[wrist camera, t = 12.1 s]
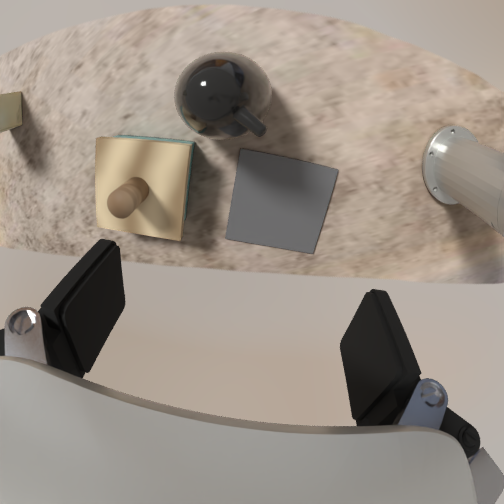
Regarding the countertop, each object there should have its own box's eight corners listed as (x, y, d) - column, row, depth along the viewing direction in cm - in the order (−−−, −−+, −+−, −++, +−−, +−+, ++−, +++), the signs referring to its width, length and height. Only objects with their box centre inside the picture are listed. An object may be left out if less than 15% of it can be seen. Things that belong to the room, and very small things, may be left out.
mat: (337, 169, 36) (338, 170, 36) (312, 252, 42) (312, 253, 42) (240, 148, 35) (240, 149, 35) (225, 237, 41) (225, 238, 41)
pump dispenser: (236, 151, 35) (223, 185, 22) (172, 105, 32) (120, 112, 19) (288, 92, 31) (310, 86, 18) (222, 44, 28) (199, 9, 15)
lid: (192, 144, 30) (178, 154, 25) (182, 236, 36) (170, 262, 31) (100, 136, 29) (73, 146, 24) (101, 223, 35) (79, 245, 30)
